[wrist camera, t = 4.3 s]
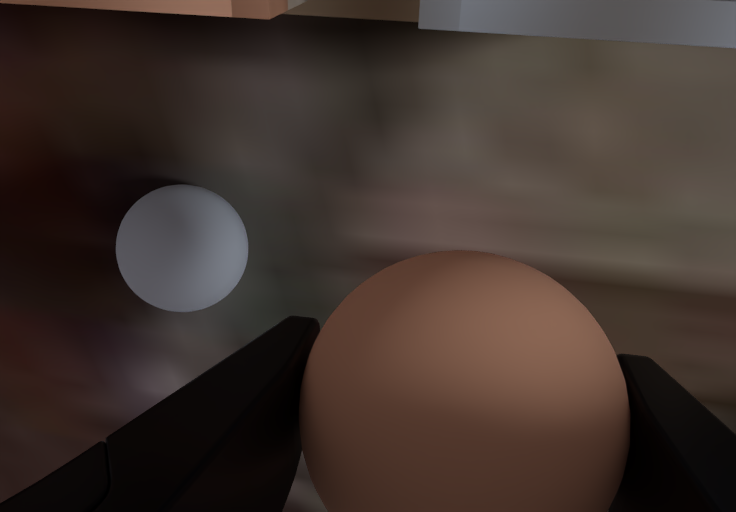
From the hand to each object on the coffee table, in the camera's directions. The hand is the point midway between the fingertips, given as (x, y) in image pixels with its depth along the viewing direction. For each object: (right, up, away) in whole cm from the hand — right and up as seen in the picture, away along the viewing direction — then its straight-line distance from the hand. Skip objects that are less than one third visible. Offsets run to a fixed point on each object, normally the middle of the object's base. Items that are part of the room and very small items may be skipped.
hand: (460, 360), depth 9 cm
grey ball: (-7, +3, +13) cm, 15 cm away
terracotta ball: (0, 0, +1) cm, 1 cm away
